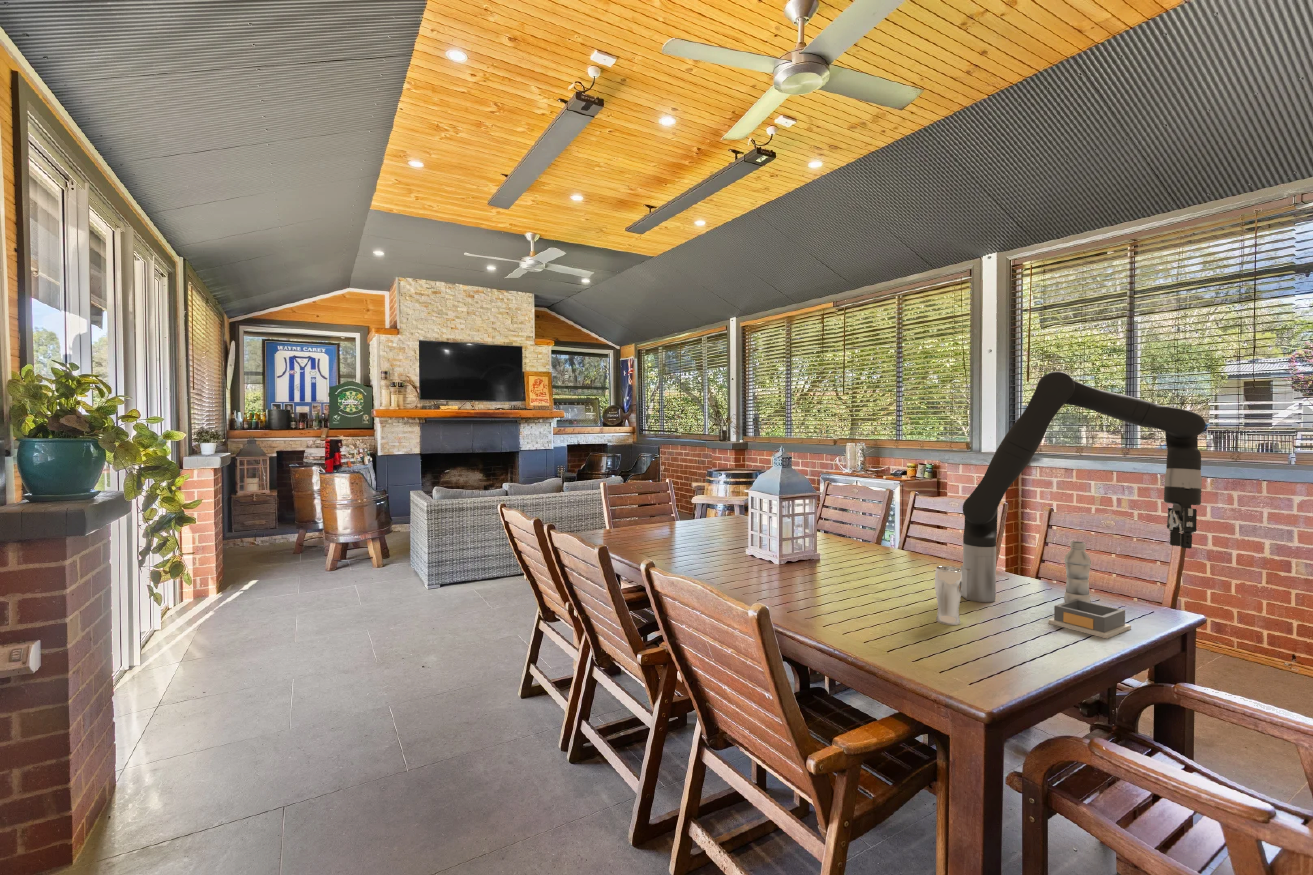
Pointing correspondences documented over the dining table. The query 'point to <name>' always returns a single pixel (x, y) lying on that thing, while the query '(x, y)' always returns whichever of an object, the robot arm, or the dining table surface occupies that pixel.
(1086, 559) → the plastic bottle
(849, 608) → the dining table surface
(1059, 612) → the labelled socket
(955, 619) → the beer glass
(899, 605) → the dining table surface
